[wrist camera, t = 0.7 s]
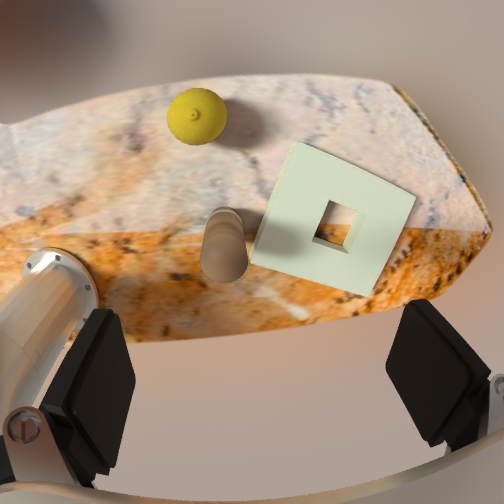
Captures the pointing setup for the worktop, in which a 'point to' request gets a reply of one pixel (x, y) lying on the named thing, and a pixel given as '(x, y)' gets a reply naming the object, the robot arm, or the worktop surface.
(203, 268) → the peg
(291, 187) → the board
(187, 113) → the lemon
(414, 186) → the worktop surface
